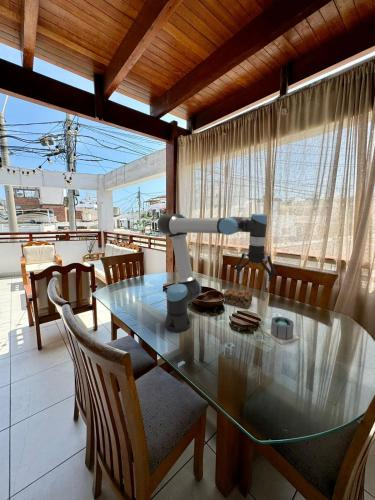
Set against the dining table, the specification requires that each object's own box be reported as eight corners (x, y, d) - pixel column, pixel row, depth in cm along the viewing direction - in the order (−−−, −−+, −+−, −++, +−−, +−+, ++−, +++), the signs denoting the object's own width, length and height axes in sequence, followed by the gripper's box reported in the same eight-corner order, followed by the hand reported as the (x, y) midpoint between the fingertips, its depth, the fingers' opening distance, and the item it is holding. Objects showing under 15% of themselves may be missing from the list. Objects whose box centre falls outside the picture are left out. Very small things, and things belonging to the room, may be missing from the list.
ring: (281, 341, 108) (282, 328, 106) (266, 330, 117) (267, 318, 116) (297, 336, 111) (298, 324, 110) (281, 326, 121) (282, 315, 120)
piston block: (281, 344, 107) (282, 331, 106) (264, 332, 118) (265, 320, 117) (299, 339, 111) (300, 326, 110) (281, 327, 122) (282, 316, 121)
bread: (252, 304, 154) (253, 290, 152) (247, 309, 145) (248, 295, 143) (228, 298, 164) (228, 285, 162) (222, 303, 155) (222, 290, 153)
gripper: (230, 243, 110) (228, 283, 114) (284, 248, 100) (279, 291, 104) (233, 241, 116) (231, 279, 121) (283, 245, 107) (279, 286, 111)
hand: (253, 284), depth 112 cm, fingers open, 13 cm apart
